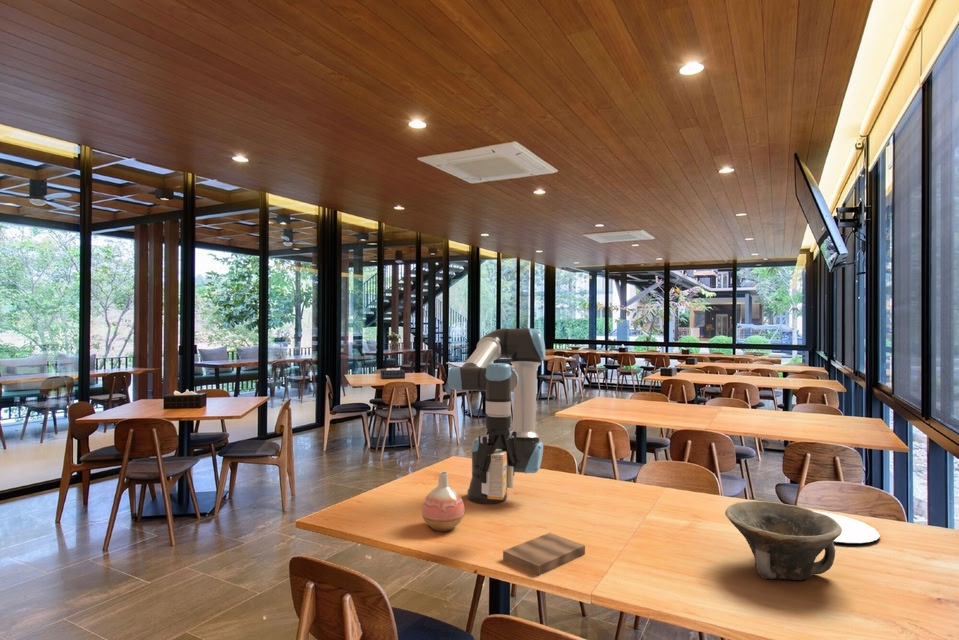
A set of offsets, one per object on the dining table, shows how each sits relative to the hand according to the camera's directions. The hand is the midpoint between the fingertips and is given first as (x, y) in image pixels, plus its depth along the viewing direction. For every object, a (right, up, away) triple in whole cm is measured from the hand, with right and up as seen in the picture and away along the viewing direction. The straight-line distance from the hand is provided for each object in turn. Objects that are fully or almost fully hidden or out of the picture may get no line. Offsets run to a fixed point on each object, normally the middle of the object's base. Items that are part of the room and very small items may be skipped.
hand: (497, 490), depth 162 cm
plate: (+106, -17, +13) cm, 108 cm away
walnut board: (+13, -16, -10) cm, 22 cm away
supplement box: (0, -2, 0) cm, 2 cm away
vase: (-17, -16, +12) cm, 26 cm away
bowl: (+74, -16, -19) cm, 78 cm away
